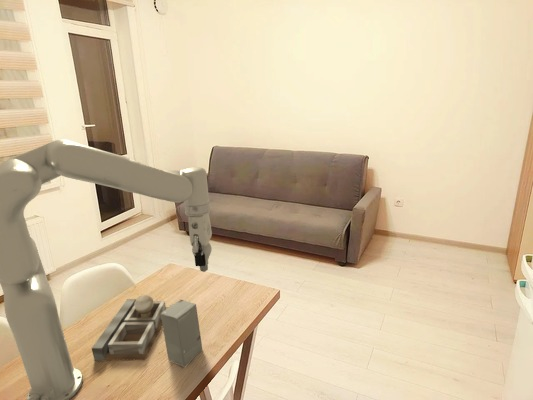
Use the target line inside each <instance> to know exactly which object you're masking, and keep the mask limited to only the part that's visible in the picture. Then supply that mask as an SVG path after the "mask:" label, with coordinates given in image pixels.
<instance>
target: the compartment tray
mask: <svg viewBox="0 0 533 400" xmlns="http://www.w3.org/2000/svg"><path fill="white" fill-rule="evenodd" d="M168 308H169V306H166V301H164V300H160V301H158V300H156V301H154V299H153V297H152V296H151V295H149V294H141V295H139V296H138V297H137V298H128V299H126V300H125V302H124V303H123V304H122V306H121V307H120V308H119V310H118V311H117V312H116V314H115V316H114V317H113V318H112V319H111V321H110V322H109V324H107V327H106V328H105V329H104V331H103V332H102V333H101V335H100V336H99V337H98V338H97V340H96V342H95V343H94V345H93V346H92V347H91V351H92V355H93V360H94V361H98V362H99V361H102V362H103V361H104V362H105V361H146V359H147V357H148V356H149V353H150V351H151V350H152V347H153V346H154V344H155V341H156V339H157V337H158V336H159V333H160V331H161V329H162V328H163V325H162V320H161V315H160V314H161V313H162V312H163V311H165V310H166V309H168Z"/></svg>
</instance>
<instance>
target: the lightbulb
mask: <svg viewBox="0 0 533 400" xmlns="http://www.w3.org/2000/svg"><path fill="white" fill-rule="evenodd" d="M198 245H201V243H199V244H198ZM191 247H192V248H191V252H192V255H193V256H194V251H193V246H191ZM198 248H199V249H200V250H201V247H198ZM204 254H205V260H206V265H205V266H199V271H200V272H203V273H204V272H207V271H208V269H209V265H208V264H209V258H210V256H211V254H212V246H211V243H210V242H209V243H208V244H207V246H204Z"/></svg>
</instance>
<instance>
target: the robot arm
mask: <svg viewBox="0 0 533 400" xmlns="http://www.w3.org/2000/svg"><path fill="white" fill-rule="evenodd" d="M207 176H208V175H207V171H206V169H205V168H203V167H199V166H192V167H188V168H185V169H177V170H175V169H174V170H163V169H160V168H155V167H152V166H150V165H147V164H144V163H141V162H139V161H137V160H135V159H133V158H130V157H126V156H123V155H120V154H117V153H113V152H110V151H107V150H106V151H105V150H102V149H99V148H96V147H92V146H89V145H85V144H81V143H78V142H75V141H72V140H69V139H62V138H61V139H60V138H59V139H56V140H53V141H50V142H47V143H46V144H43V145H41V146H38V147H35V148H34V149H31V150H29V151H27V152H24V153H22V154H19V155H16V156H13V157H11V158H9V159H7V160H4V161H3V162H1V163H0V287H1V289H2V292H3V303H4V304H3V305H4V314H5V318H6V321H7V323H8V326H9V329H10V330H11V333H12V336H13V337H14V341H15V344H16V348H17V350H18V352H19V355H20V358H21V361H22V364H23V367H24V370H25V373H26V376H27V379H28V383H29V384H30V389H29V391H28V393H27V395H26V400H70V399H71V398H73V397H74V396H75V395H76V394H77V392H78V391H79V390H80V389H81V387H82V385H83V383H84V382H83V381H84V376H83V373H82V372H81V370H79V369H78V368H75V367H74V366H73V363H72V359H71V356H70V352H69V348H68V344H67V341H66V338H65V334H64V330H63V326H62V324H61V319H60V316H59V312H58V308H57V302H56V299H55V296H54V293H53V290H52V287H51V286H50V283H49V280H48V277H47V274H46V271H45V268H44V265H43V263H42V260H41V257H40V254H39V250H38V247H37V244H36V242H35V240H34V239H33V238H32V237H31V234H30V232H29V228H28V224H27V221H26V219H25V215H24V213H25V209H26V206H28V204H29V203H30V202H31V201H33V200H34V199H35V198H36V197H37V196H38V195H39V193H40V191H41V189H42V185H44V184H46V183H48V182H51V181H52V180H55V179H57V178H59V177H64V178H69V179H73V180H77V181H82V182H86V183H91V184H94V185H95V184H97V185H99V186H105V187H110V188H113V189H118V190H120V191H123V192H126V193H127V192H128V193H133V194H138V195H142V196H144V197H149V198H153V199H157V200H161V201H166V202H171V203H178V204H179V203H183V206H184V213H185V215H186V217H188V233H189V242H190V246H191V247H193V251H194V255H193V257H194V263H195V267H200V266H205V265H206V260H205V254H204V246H207V244H208V243H210V240H211V238H212V235H213V231H212V225H211V224H212V223H211V218H210V212H211V208H210V207H211V205H210V197H209V196H210V195H209V186H208V177H207ZM199 243H201V245H198V244H199ZM198 247H201V250H200V249H199V248H198Z"/></svg>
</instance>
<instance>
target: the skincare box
mask: <svg viewBox="0 0 533 400" xmlns="http://www.w3.org/2000/svg"><path fill="white" fill-rule="evenodd" d="M168 307H169V308H168V309H166V310H165V311H163V312H162V313H161V314H160V315H161V320H162V331H163V335H164V341H165V346H166V354H167V359H168V361H170V362H172V363H174V364H176V365H179V366H181V367H183V368H186V367H187V366H188V365H189V364H190V363H191V361H192V360H193V359H195V358H196V357H197V356H198V355H199V354H200V353H201V351H203V344H202V335H201V330H200V323H199V317H198V309H197V304H196V303H194V302H191V301H187V300H184V299H179V300H177V301H176V302H175V303H174V304H171V305H169V306H168Z"/></svg>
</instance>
